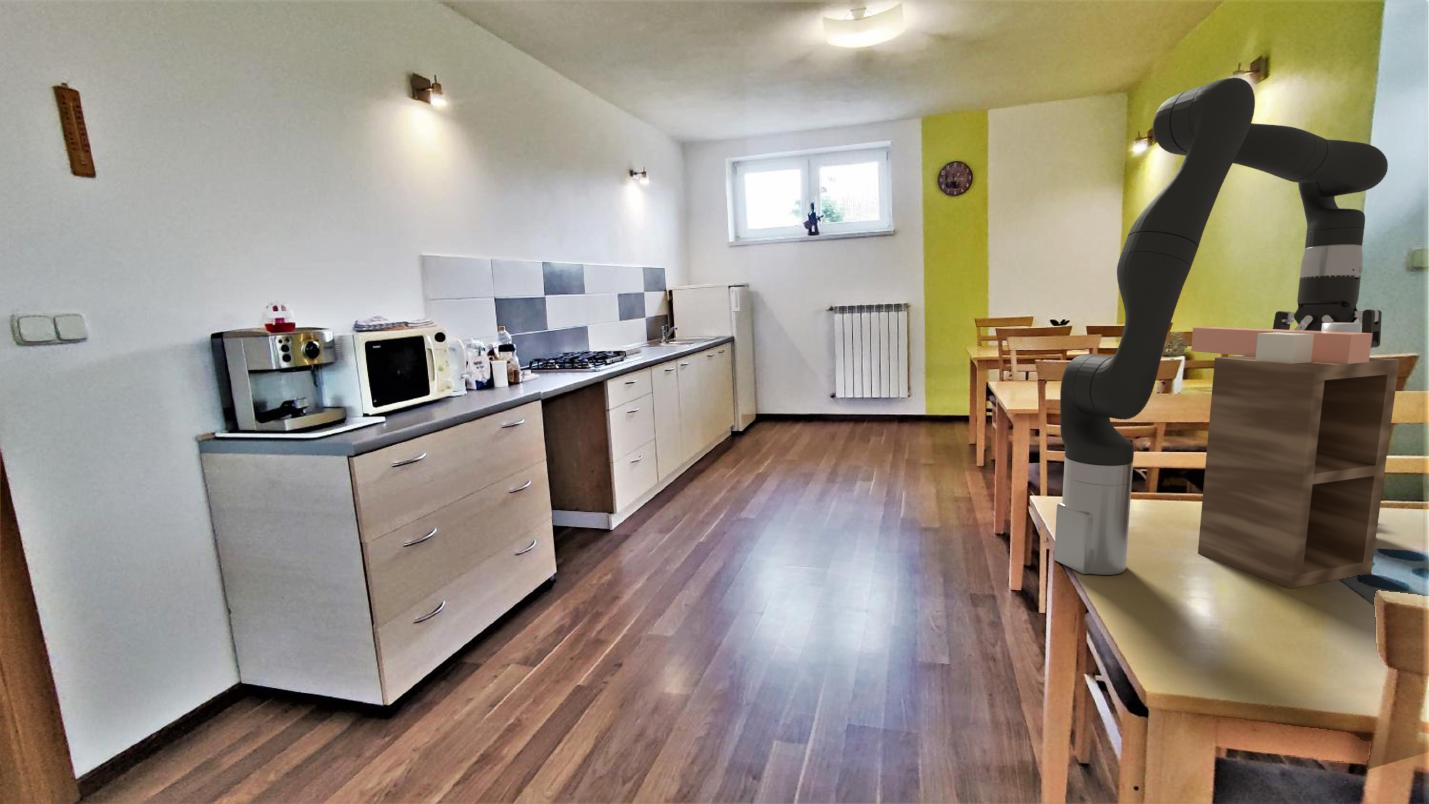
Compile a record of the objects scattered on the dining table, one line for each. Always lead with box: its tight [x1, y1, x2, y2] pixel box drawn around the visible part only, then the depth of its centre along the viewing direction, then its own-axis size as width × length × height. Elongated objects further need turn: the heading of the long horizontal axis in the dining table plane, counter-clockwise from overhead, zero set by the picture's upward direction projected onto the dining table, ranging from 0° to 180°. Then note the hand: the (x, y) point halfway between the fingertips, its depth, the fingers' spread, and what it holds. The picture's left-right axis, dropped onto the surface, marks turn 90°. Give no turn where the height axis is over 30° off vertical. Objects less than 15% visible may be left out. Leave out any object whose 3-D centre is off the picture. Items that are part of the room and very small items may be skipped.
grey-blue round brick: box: [1321, 322, 1362, 333], centre depth 99 cm, size 4×4×5 cm
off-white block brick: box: [1255, 332, 1314, 364], centre depth 96 cm, size 4×5×4 cm
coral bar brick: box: [1190, 326, 1372, 364], centre depth 103 cm, size 4×23×4 cm, turn 15°
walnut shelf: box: [1197, 355, 1400, 590], centre depth 102 cm, size 16×14×32 cm
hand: (1318, 372), depth 112 cm, fingers open, 8 cm apart
